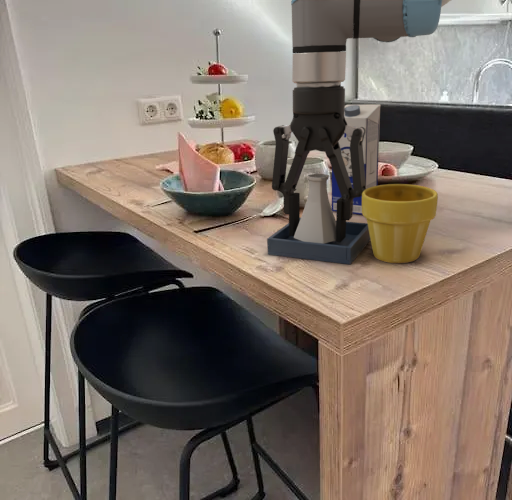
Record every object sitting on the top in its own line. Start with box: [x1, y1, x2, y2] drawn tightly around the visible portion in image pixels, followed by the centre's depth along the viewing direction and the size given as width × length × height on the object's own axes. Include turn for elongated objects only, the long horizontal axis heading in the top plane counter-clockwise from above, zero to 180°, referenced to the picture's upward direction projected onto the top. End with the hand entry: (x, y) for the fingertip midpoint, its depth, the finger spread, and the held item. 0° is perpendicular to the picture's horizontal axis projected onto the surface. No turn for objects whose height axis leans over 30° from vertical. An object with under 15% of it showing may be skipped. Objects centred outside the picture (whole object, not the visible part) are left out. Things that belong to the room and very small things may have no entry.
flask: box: [294, 173, 336, 244], centre depth 78 cm, size 7×7×10 cm
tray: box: [266, 217, 371, 265], centre depth 79 cm, size 13×12×3 cm
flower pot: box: [362, 183, 439, 264], centre depth 73 cm, size 10×10×10 cm
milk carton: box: [331, 103, 382, 216], centre depth 96 cm, size 7×7×20 cm
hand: (317, 236), depth 80 cm, fingers closed on flask, 7 cm apart
